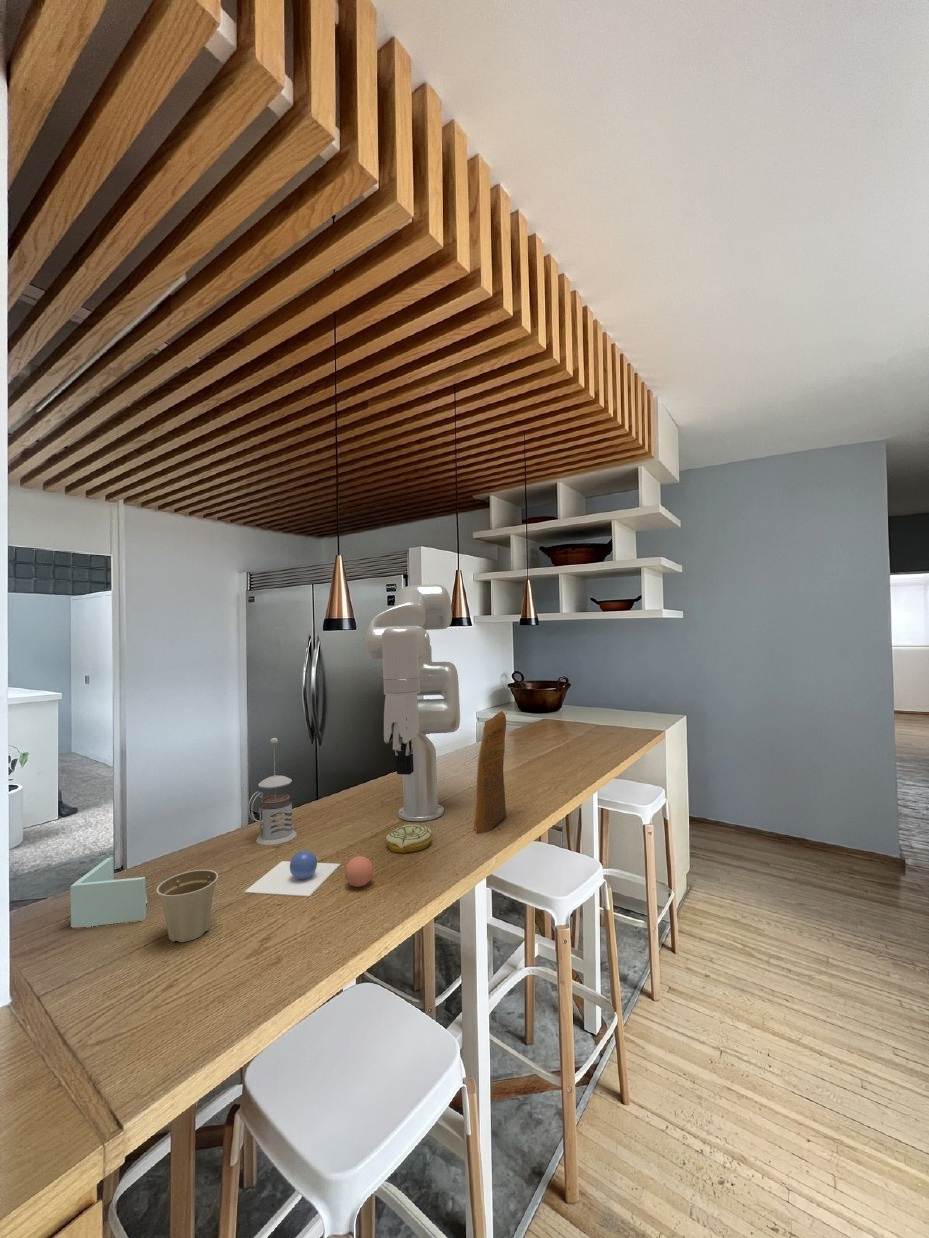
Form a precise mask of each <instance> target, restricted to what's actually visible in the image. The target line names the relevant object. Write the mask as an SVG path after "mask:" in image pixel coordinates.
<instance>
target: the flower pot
mask: <svg viewBox="0 0 929 1238" xmlns="http://www.w3.org/2000/svg"><path fill="white" fill-rule="evenodd" d="M218 879H219V874H218V873H217V872H216V871H215V870H212V869H193V870H189V871H185V872H182V873H179V874H175V875H173V876H170V877H169V878H167V879H165V880H163V881H162V882H161V883H159V884H158V885H157V887H156V891H155V892H156V894H157V895H158V897H159V900H160V901H161V903H162V907H163V912H164V917H165V923H166V928H167V933H168V939H169V941H171V942H174V943H175V941H177V942H179V943H185V942H186V943H187V942H189V941H193V940H197V939H198V938H200V937H201V936H203V935H204V934H205V932H208V931H209V930H210V926H211V916H212V908H213V898H214V890H215V888H216V882H217V881H218Z"/></svg>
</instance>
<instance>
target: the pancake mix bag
mask: <svg viewBox="0 0 929 1238" xmlns="http://www.w3.org/2000/svg"><path fill="white" fill-rule="evenodd" d="M483 723H484V726H483V731H482V735H481V743H480V747H479V752H478V758H477V768H476V769H477V773H476V791H475V792H476V800H475V806H474V807H475V808H474V814H473V815H474V817H473V831H475V834H480V833H479V832H482V833H487V831H488V832H491V831H492V830H493V829H495V827H497V825H499V824H500V823H501V822H502V821H503V820H504V819H506V818H507V809H506V807H507V806H506V793H505V780H504V779H505V778H504V761H505V760H504V758H505V747H506V745H505V743H506V742H505V739H506V731H507V718H506V714H505V713H504V712H503V710H501V711H499V712H497V713H496V714H495V715H494V716H493V717H491V718H489V719H488V720H485V721H484V722H483ZM500 821H501V822H500Z"/></svg>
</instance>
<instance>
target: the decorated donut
mask: <svg viewBox="0 0 929 1238" xmlns="http://www.w3.org/2000/svg"><path fill="white" fill-rule="evenodd" d="M432 831H433V830H432V829H430V828H429V827H427V826H425V825H423V824H422V825H421V824H415V823H412V824H411V823H410V824H403V825H401V826H399V827H395V828H394V829H392V830H391V831H390V832H389V833H388V834H387V835H386V836H385V839H386V844H387V847H388V848H389V849H388V850H390V851H391V852H392V853H396V854H397V853H399V854H405V853H406V852H411V853H414V851H415V852H418V851H420V850H424V849H426V848H427V847H428V846H429V845H430V843H431V842H432V839H433V835H432V834H433V833H432Z"/></svg>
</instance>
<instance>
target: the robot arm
mask: <svg viewBox="0 0 929 1238" xmlns="http://www.w3.org/2000/svg"><path fill="white" fill-rule="evenodd" d="M395 597H396V598H395V601H394V605H393V607H390V608H388V609H387V610H384V611H382V612H380V613H378V614H377V615H376V616H374V617H373V618H372V619H371V620H370V622H369V625H368V628H367V630H366V634H365V639H364V640H365V641H364V647H365V651H366V654H367V655H368V657H369V658H370V659H372V660H373V661H382V671H383V672H382V676H383V677H382V678H383V695H385V698H384V709H383V742H384V743H385V744H391V742H392V751H393V752H394V753H395V760H396V761H395V762H396V774H397V775H402V794H403V795H402V797H403V798H402V799H403V800H402V801H403V806H402V807H401V808H399V809H398V812H397V813H398V814H397V815H398V817H399V818H400V819H401V820H404V821H408V822H409V821H410V822H425V821H433V820H434V819H438V818H440V817H441V816H443V815H444V813H445V811H444V806H442V805H440V804H439V798H438V771H437V752H436V747H435V745H434V743H433V742H432V740H430V738H429V737H428V736H427V735H430V734H450V733H455V732H456V731H458V729H459V728H460V723H461V708H460V687H459V674H458V670H457V667H456V666H455V664H454V663H453V662H450V661H433V659H432V658H433V657H432V646H431V639H430V638H431V637H430V634H429V632H427V631H430V630H431V631H433V630H445V629H448V628H449V627H450V625H451V624H452V620H453V619H452V618H453V612H452V611H453V609H452V602H451V601H452V600H451V597H450V594H449V591H448V590H447V588H446V586H444V585H441V584H418V585H417V584H416V585H408V586H405V587H402V588H401V589H400V590H399V591H398V592H397V594H396V596H395ZM419 696H420V697H421V696H422V697H423V696H441V697H443V698H430V699H429V698H424V699H423V698H422V699H419V698H418V697H419Z"/></svg>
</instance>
